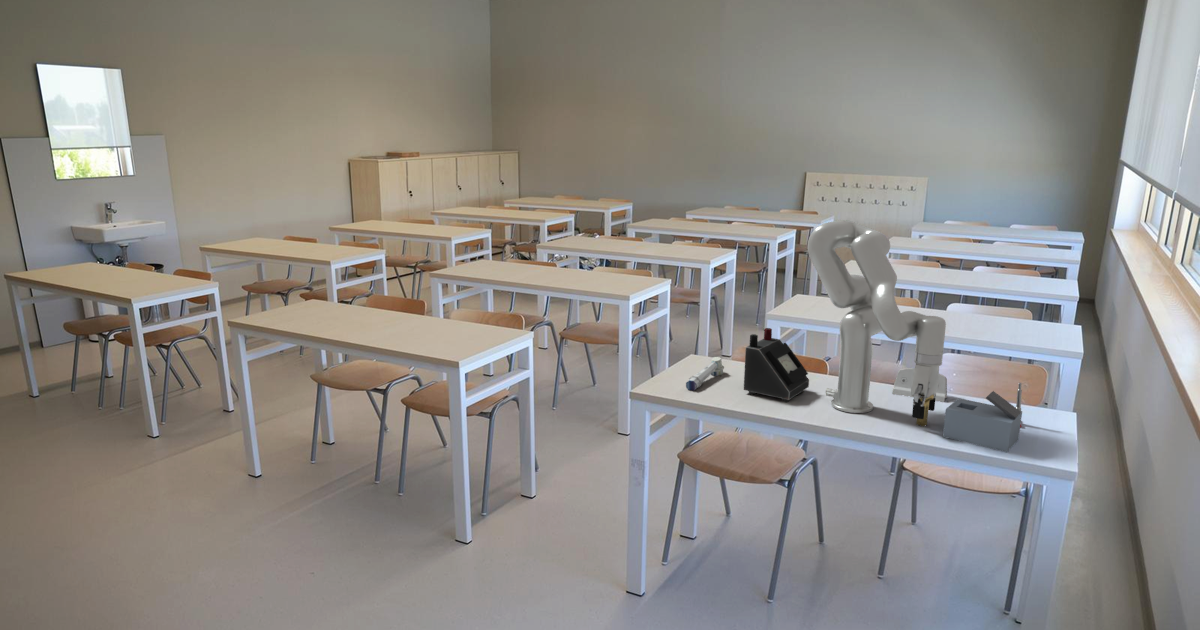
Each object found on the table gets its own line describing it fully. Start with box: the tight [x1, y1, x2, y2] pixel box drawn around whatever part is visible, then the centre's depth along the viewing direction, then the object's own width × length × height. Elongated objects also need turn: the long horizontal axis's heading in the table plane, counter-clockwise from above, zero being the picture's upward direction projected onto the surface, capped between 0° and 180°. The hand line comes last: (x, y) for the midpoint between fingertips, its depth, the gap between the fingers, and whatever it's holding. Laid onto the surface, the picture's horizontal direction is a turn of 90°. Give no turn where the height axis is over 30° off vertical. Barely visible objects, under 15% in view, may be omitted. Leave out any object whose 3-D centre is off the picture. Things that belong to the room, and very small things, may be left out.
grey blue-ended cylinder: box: [685, 356, 725, 392], centre depth 271 cm, size 5×7×25 cm
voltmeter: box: [743, 327, 810, 403], centre depth 257 cm, size 16×16×20 cm
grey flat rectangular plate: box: [985, 390, 1022, 420], centre depth 215 cm, size 9×6×1 cm, turn 50°
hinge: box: [891, 367, 948, 403], centre depth 256 cm, size 17×5×10 cm, turn 59°
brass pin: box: [915, 394, 934, 427], centre depth 230 cm, size 5×5×10 cm
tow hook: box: [1015, 382, 1023, 428], centre depth 232 cm, size 8×13×9 cm
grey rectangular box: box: [942, 398, 1023, 453], centre depth 220 cm, size 17×12×8 cm
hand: (923, 413), depth 230 cm, fingers open, 8 cm apart
